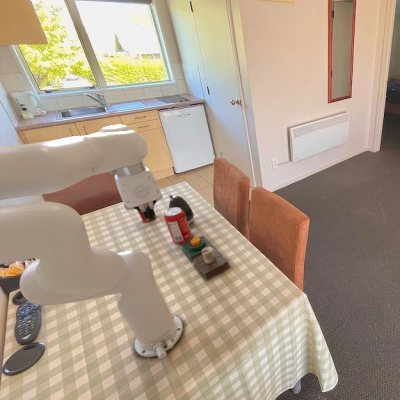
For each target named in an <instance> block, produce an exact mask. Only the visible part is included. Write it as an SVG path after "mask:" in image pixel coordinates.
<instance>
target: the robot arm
mask: <svg viewBox="0 0 400 400" xmlns="http://www.w3.org/2000/svg"><path fill="white" fill-rule="evenodd" d="M147 154H148V142H147V141H146V139H145V137H144V136H143V135H142V134H141V133H139V132H138V131H136V130H131V128H130V127H128V126H127V125H124V124H115V125H108V126H104V127H102V128H100V129H99V130H98V131H97V132H94V133H91V134H87V135H77V136H67V137H62V138H57V139H52V140H51V139H50V140H46V141H45V140H44V141H38V142H33V143H25V144H17V145H9V146H8V145H6V146H0V201H4V200H11V199H12V200H13V199H18V198H25V197H26V198H27V197H34V196H41V195H48V194H52V193H57V192H60V191H62V190H66V189H67V188H69V187H72V186H74V185H76V184H78V183H79V182H82V181H83V180H86V179H88V178H91V177H92V176H97V175H101V174H105V173H109V175H114V181H115V184H116V188H117V191H118V193H119V197H120V198H121V200H122V202H123V207H124V209H125V211H131V210H136V211H137V210H140V211H142V212H143V214H144V217H145V218H146V219H147V218H148V219H149V221H150V222H153V221H155V220H156V216H157V215H156V211H155V210H154V208H155V205H156V204H157V202H159V201H161V200H162V199H163V198H164V197H163V194H162V192H161V189H160V186H159V185H158V182H157V180H156V178H155V176H154V174H153V173H152V171H151V170H150V168H148V167H146V165H145V163H144V159H145V158H146V156H147ZM145 203H147V208H145V207H144V206H143V205H142V204H145ZM154 216H155V218H154ZM87 231H88V230H87V228H86V224H85V221H84V220H83V217H82V216H81V215H80V214H79V212H78V211H77V210H75V209H74V208H73V207H71V206H70V205H67V204H65V203H60V202H56V201H55V202H54V201H30V202H21V203H14V204H6V205H0V265H3V264H10V263H15V262H16V263H17V262H21V261H22V262H23V261H27V260H33V259H35V260H34V261H33V262H31V263H30V264H28V265H27V266H26V268H25V269H24V270H23V272H22V273H21V275H20V278H19V291H20V292H21V294H22V296H23V298H25V300H26V301H27V302H29V303H31V304H33V305H35V306H41V307H42V306H43V307H47V306H56V305H64V304H72V303H79V302H84V301H88V300H93V299H98V298H102V297H106V296H112V295H118V294H119V295H118V298H117V309H118V311H119V313H120V314H121V315H122V317H123V319H124V320H125V322H126V324H127V325H128V327H129V328H130V330H131V331H132V333H133V334H134V336H135V340H134V349H135V352H136V353H137V354H138V355H139V356H141V357H143V358H152V357H157V358H158V360H164V359H165V357H167V355H168V354H167V351H168V350H170V349H173V348H174V347H175V346H174V345H175V344H176V343H178V341H179V340H180V337H181V336H182V334H183V330H184V325H183V322H182V320H181V318H180V317H178V316H177V315H176V316H175V315H173V314H172V313H171V311H170V308H169V306H168V305H167V302H166V301H165V298H164V296H163V294H162V292H161V290H160V289H159V286H158V283H157V281H156V279H155V275H154V271H153V266H152V265H153V264H152V262H151V259H150V257H149V255H148V254H147V253H145V252H143V251H140V250H127V251H121V252H116V251H113V250H111V249H106V248H100V247H94V246H91V243H90V238H89V234H88V232H87Z"/></svg>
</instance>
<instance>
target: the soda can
mask: <svg viewBox="0 0 400 400" xmlns="http://www.w3.org/2000/svg"><path fill="white" fill-rule="evenodd" d="M163 219H164V222H165V225H166V227H167V230H168V232H169V235H170V237H171V241H172V242H173V243H174V244H177V245H178V244H180V245H181V244H186V243H188V242H189V241H191V240H192V237H193V234H192V230H191V227H190V224H189V225H188V222H187V219H186V216H185V213H184V211H183V210H181V208H178V207H176V208H171V209H169V208H168V209H166V210H165V211H164V216H163Z"/></svg>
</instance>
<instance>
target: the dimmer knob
mask: <svg viewBox="0 0 400 400" xmlns="http://www.w3.org/2000/svg"><path fill="white" fill-rule="evenodd" d="M213 249H214V247H213V248H212V247H206V248H204V249H203V250H202V255H203V258H204V261H205V263H207V264H210V263H213V262H214V261H215V260H216V258H215V254H214V251H213Z"/></svg>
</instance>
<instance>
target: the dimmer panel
mask: <svg viewBox="0 0 400 400" xmlns="http://www.w3.org/2000/svg"><path fill="white" fill-rule="evenodd" d="M213 251H214V254H215V258H216V260H215V261H214V262H213V263H210V264H207V263H205V261H204V258H203V255H200V256H198V257H196V258H194V259H193V260H194V261H193V263H194V265H195V266H196V268H197V269H198V270H199V271H200V273H201V274H202V275H203V276H204V278H205V279H206V280H209V279H210V278H213V277H214V276H216V275H218V274H220V273H221V272H223V271H224V270H227V269H228V268H230V265H229V261H228V260H227V259H226V258H225V257H224V256H223V255H222V254H221V253H220V252H219V251H218V250H217V248H215V247H213Z"/></svg>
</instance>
